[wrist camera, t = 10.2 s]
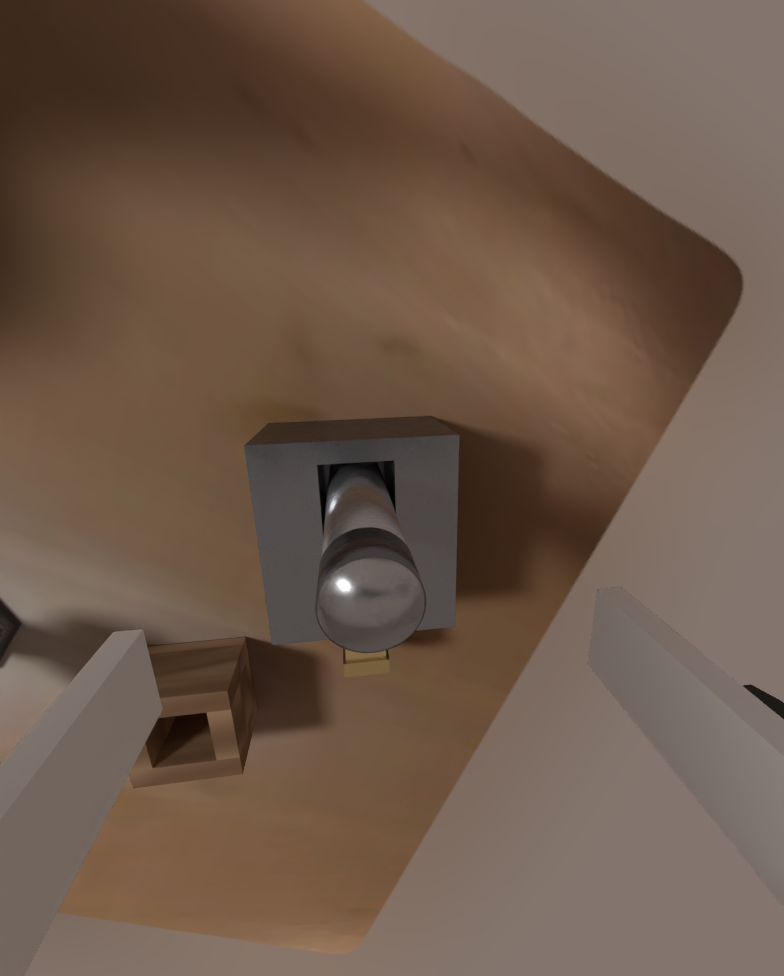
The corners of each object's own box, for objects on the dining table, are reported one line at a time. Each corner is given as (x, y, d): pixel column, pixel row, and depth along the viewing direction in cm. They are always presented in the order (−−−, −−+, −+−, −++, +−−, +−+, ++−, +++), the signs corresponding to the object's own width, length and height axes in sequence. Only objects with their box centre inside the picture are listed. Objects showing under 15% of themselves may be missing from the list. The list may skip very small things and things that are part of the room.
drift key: (344, 648, 34) (344, 677, 31) (336, 546, 31) (335, 567, 28) (385, 644, 34) (389, 672, 31) (381, 543, 31) (385, 563, 28)
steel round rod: (327, 445, 30) (310, 561, 13) (378, 442, 30) (426, 552, 13) (330, 493, 31) (320, 658, 14) (379, 490, 32) (426, 647, 14)
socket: (287, 580, 34) (272, 645, 26) (268, 423, 30) (244, 445, 22) (430, 568, 35) (455, 626, 28) (430, 416, 31) (459, 434, 24)
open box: (146, 646, 34) (108, 704, 29) (245, 636, 35) (227, 690, 29) (165, 721, 37) (133, 788, 31) (257, 710, 38) (242, 773, 32)
